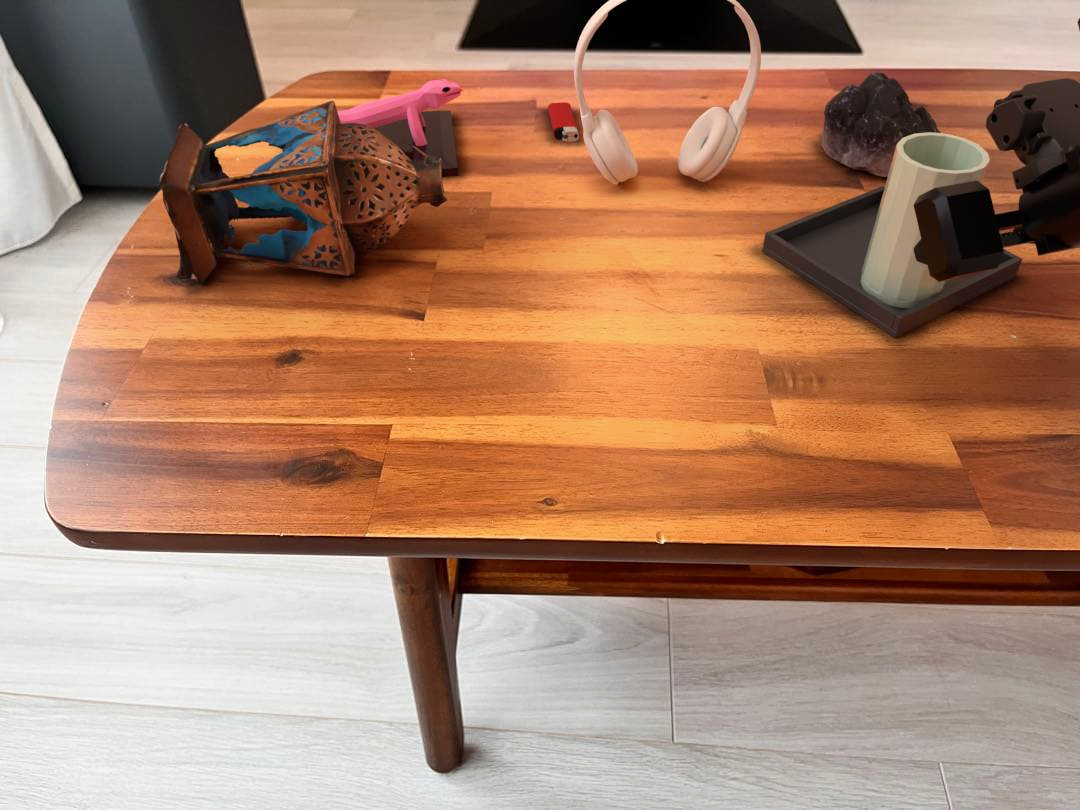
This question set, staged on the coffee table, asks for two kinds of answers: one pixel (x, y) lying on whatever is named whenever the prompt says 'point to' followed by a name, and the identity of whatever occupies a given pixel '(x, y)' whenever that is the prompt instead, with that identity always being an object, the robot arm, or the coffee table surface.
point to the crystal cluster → (871, 124)
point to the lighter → (563, 122)
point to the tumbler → (896, 227)
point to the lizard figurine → (414, 122)
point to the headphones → (705, 139)
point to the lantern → (296, 193)
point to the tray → (838, 257)
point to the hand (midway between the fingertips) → (966, 244)
